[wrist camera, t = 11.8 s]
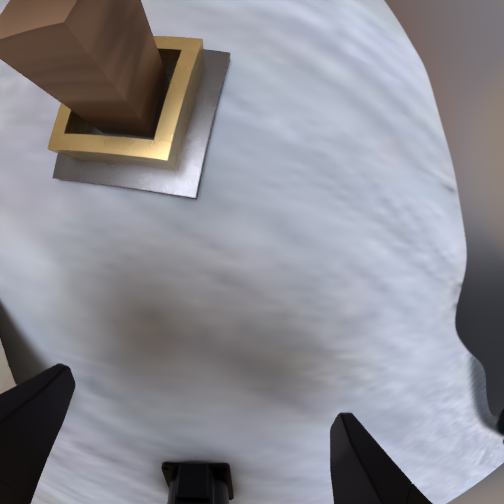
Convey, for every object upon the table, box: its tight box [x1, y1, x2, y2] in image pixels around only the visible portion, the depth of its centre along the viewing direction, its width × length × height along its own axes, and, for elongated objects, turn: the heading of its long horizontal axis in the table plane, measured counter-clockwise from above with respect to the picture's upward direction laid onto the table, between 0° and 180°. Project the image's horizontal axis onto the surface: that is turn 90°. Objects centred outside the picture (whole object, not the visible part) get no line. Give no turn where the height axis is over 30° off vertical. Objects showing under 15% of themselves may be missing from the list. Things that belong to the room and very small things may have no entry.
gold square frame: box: [48, 36, 230, 199], centre depth 16 cm, size 11×11×4 cm
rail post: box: [0, 0, 170, 138], centre depth 10 cm, size 4×4×13 cm
